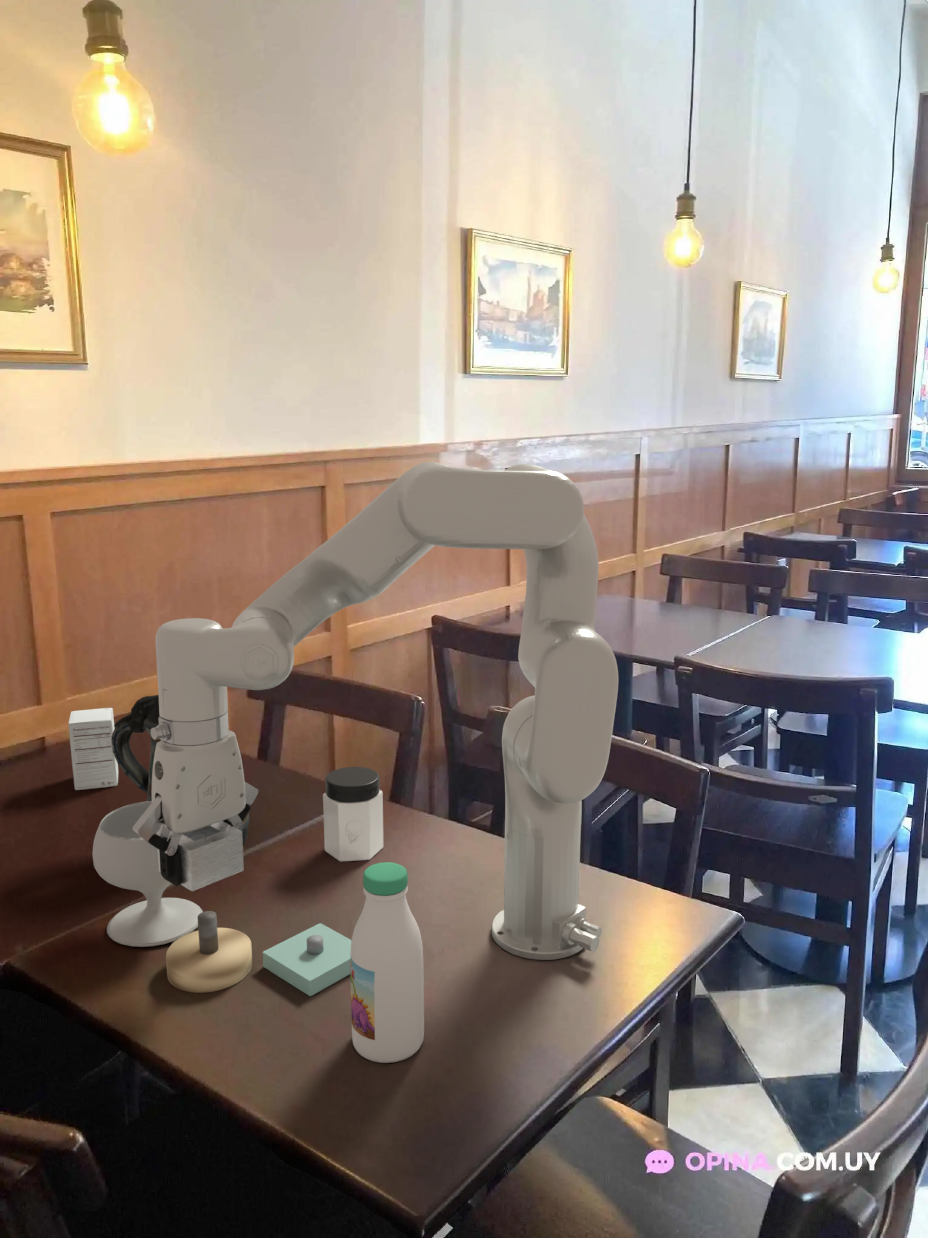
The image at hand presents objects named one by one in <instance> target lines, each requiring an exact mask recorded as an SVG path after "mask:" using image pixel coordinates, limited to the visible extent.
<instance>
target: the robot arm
mask: <svg viewBox="0 0 928 1238" xmlns="http://www.w3.org/2000/svg"><path fill="white" fill-rule="evenodd" d="M435 546H437V547H441V548H455V549H457V548H458V549H472V550H474V549H475V550H476V549H477V550H483V549H484V550H523V552H524V556H525V562H526V564H525V565H526V579H525V580H526V581H525V582H526V584H525V598H524V606H523V614H522V621H521V623H522V624H521V632H520V638H519V642H518V643H519V644H518V645H519V646H518V655H517V657H518V658H517V659H518V663H519V667H520V670H521V672H522V673H523V675H524V677H525V678H526V679H527V681H528V682H529V683H530V684H531V685H532V687H534V695H530V696H527V697H524V698H523V699H521V700H520V701H518V702H517V703H516V704H515V705H514V706H513V707H512V708H511V709H510V710H509V712H508V714H507V716H506V718H505V720H504V723H503V726H502V734H501V735H502V736H501V748H502V749H501V750H502V751H501V752H502V761H503V762H502V763H503V774H504V775H503V776H504V793H505V795H504V797H505V800H504V801H505V802H504V803H505V808H504V810H505V812H504V814H505V817H504V818H505V819H504V864H503V865H504V867H503V869H504V870H503V871H504V873H503V874H504V875H503V876H504V877H503V878H504V880H503V883H504V885H503V909H502V910H500V911H499V912H498V913H497V914H496V915H495V916H494V918H493V920H492V923H491V935H492V938H493V940H494V941H495V942H496V944H497V945H498V946H499V947H500V948H502V949H503V950H505V951H506V952H508V953H510V954H512V955H515V956H516V957H517V956H518V957H521V958H524V959H531V960H535V961H536V960H538V961H539V960H540V961H551V960H560V959H563V958H564V959H565V958H568V957H570V956H573V955H575V954H577V953H580V951H582V950H583V949H586V950H587V951H589V952H592V953H594V952H596V951H597V950H598V948H599V945H600V937H601V935H602V927H600V926H599V925H596V924H593V923H590V922H588V921H587V919H586V911H587V910H586V906H584V905H582V904H579V901H580V899H579V896H580V867H581V866H580V864H581V863H580V862H581V836H582V835H581V832H582V831H581V830H582V827H581V826H582V807H583V805H582V802H583V801H582V800H584V799H586V798H588V797H589V796H590V795H591V794H593V792H594V791H595V790H596V789H597V788H598V787H599V785H600V784H601V782H602V781H603V780H602V779H603V778H604V775H605V772H606V770H607V766H608V763H609V756H610V750H611V744H612V737H613V731H614V722H615V714H616V708H617V701H618V700H617V699H618V691H619V669H618V664H617V659H616V656H615V653H614V652H613V650H612V647H611V646H610V644H609V643H608V642H607V641H606V639H605V638H603V636H601V635H600V634H599V633H597V632H596V629H595V625H596V624H595V623H596V610H597V601H598V599H597V598H598V585H599V570H600V569H599V553H598V549H597V548H598V547H597V543H596V539H595V537H594V533H593V529H592V528H591V525H590V523H589V521H588V519H587V517H586V515H585V504H584V499H583V496H582V493H581V491H580V489H579V488H578V487H577V484H576V483H574V481H573V480H571V479H570V478H569V477H568V476H566V475H564V474H563V473H562V472H561V473H560V472H558V471H556V470H553V469H552V470H551V469H548V468H545V467H541V466H539V465H534V464H526V463H525V464H524V463H523V464H516V465H513V466H510V467H508V468H506V469H504V470H496V469H495V470H493V469H474V468H462V467H454V466H450V465H447V464H443V463H441V462H436V461H425V462H421V463H418V464H416V465H414V466H412V467H411V468H409V469H408V470H406V471H405V472H403V473H402V474H401V475H400V476H398V477H397V479H395V481H394V482H392V483H390V485H389V486H388V487H387V488H385V489H384V490H383V491H382V492H380V494H379V495H377V496H376V497H375V498H374V499H373V500H372V501H371V502H370V503H368V504H367V505H366V506H365V507H364V508H363V509H361V511H360V512H358V513H357V514H356V515H355V516H354V517H352V518H351V519H350V520H349V521H348V522H347V523H346V524H345V525H344V526H342V527H341V528H340V529H339V530H338V531H337V532H335V533H334V534H333V535H332V536H331V537H329V538H328V539H327V540H325V542H323V543H322V544H321V545H319V546H318V547H317V548H316V549H314V550H313V551H312V552H311V553H310V554H309V555H308V556H306V557H305V558H304V559H303V560H301V561H300V562H299V563H297V564H296V565H295V566H293V568H291V569H289V570H288V571H287V572H286V573H284V575H282V576H281V577H280V578H279V579H278V580H276V581H275V582H274V583H273V584H272V585H271V586H270V587H268V588H267V589H266V590H265V591H264V592H262V593H261V594H260V595H259V596H258V597H257V598H256V599H254V601H252V602H251V603H250V604H249V605H248V606H247V607H246V608H244V610H243V611H242V612H241V613H239V615H238V616H237V617H236V618H235V620H234V621H233V623H232V625H231V627H228V628H224V627H222V625H221V624H220V623H219V622H217V621H215V620H213V619H208V618H201V617H200V618H199V617H193V618H192V617H190V618H180V619H179V618H178V619H174V620H169V621H167V622H165V623H163V624H162V625H160V626H159V627H158V629H157V630H156V633H155V654H156V655H155V656H156V671H157V672H156V674H157V689H158V690H157V691H158V694H157V695H159V714H160V717H159V725H158V726H157V727H155V728H152V729H151V736H152V738H153V739H154V740H155V739H161V741H160V742H157V744H156V749H155V755H154V761H153V771H152V804H151V805H150V806H149V807H148V809H147V810H146V811H145V812H144V814H143V815H142V816H141V817H140V819H139V820H138V821H137V822H136V824H135V825H134V826H133V831H134V832H135V833H136V834H137V835H139V836H140V837H141V838H143V839H144V840H145V841H146V842H148V843H149V844H151V845H152V846H154V847H155V848H157V849H159V854H160V872H161V875H162V877H163V878H164V879H165V880H167V881H169V882H170V883H172V885H173V886H174V887H179V886H182V885H181V884H182V870H181V855H180V853H179V852H177V851H176V850H177V847H178V844H179V842H180V839H181V836H182V834H185V833H188V832H191V831H194V830H197V829H200V828H203V827H206V826H209V825H211V824H214V823H217V822H220V821H223V822H225V823H227V824H229V825H231V826H233V827H235V828H237V829H239V830H241V829H242V827H243V820H244V819H245V817H246V816H247V814H248V813H249V814H250V812H251V811H250V810H251V805H253V804H254V801H255V800H256V798H257V796H258V795H259V789H258V788H256V787H255V786H253V785H251V784H249V783H248V782H246V781H245V773H244V766H243V761H242V755H241V751H240V747H239V743H238V740H237V736H236V733H235V732H234V731H232V730H229V706H228V688H233V689H242V690H248V691H249V690H253V691H262V690H263V691H264V690H270V689H273V688H275V687H277V686H280V685H281V684H282V683H283V682H285V681H286V679H288V677H289V675H291V672H292V670H293V667H294V663H295V649H294V648H295V647H296V646H297V645H298V644H299V643H300V642H302V641H303V640H304V639H305V638H306V637H307V636H308V635H310V633H312V631H315V629H316V628H318V627H319V626H320V625H321V624H323V622H325V621H326V620H328V619H329V618H330V617H332V616H333V615H334V614H336V613H338V612H339V611H341V610H343V609H345V608H348V607H350V606H353V605H357V604H362V603H365V602H368V601H370V600H372V599H374V598H377V597H378V596H380V595H381V594H382V593H383V592H384V591H386V590H387V589H388V588H389V587H390V586H391V585H392V584H393V583H395V582H396V581H397V580H399V578H400V577H401V576H402V575H403V574H404V573H405V572H407V571H408V570H409V569H410V568H412V566H413V565H415V564H416V563H417V562H418V561H419V560H420V559H422V557H423V556H425V555H426V554H427V553H428V552H430V551H431V550H432V549H433V548H434V547H435ZM155 823H157V824H161V827H160V829H159V832H158V834H156V833H155V832H154V831H153V830H152V827H153V825H154V824H155ZM170 832H171V833H170ZM169 834H170V836H169ZM168 837H169V839H168ZM167 840H168V841H167Z"/></svg>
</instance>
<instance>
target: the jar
mask: <svg viewBox="0 0 928 1238" xmlns="http://www.w3.org/2000/svg"><path fill="white" fill-rule="evenodd" d="M379 774H380V773H378V772H377V771H376V770H375V769H372V768H368V767H364V766H346V767H340V768H337V769H334V770H331V771H330V772H329V773H327V774H326V776H325V792H324V793H323V794H322V802H323V803H322V804H323V805H322V806H323V830H324V831H323V834H324V835H323V837H324V843H323V844H324V851H325V852H326V853H327V854H329V855H330V856H331V857H333V858H334V859H335V860H337V861H338V862H352V861H353V862H357V861H370V860H372V858H373V857H374V856H376V855H377V854H378V853H379V852H380V851H381V850H382V849H383V848H384V804H383V802H384V800H383V795H384V793H383V791H382V790H381V789H380V788H381V786H380V775H379Z"/></svg>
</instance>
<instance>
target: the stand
mask: <svg viewBox="0 0 928 1238" xmlns="http://www.w3.org/2000/svg"><path fill="white" fill-rule="evenodd" d="M351 941H352V939H350V938H349V937H347V936H344V935H343V934H341V933H339V932H337V931H335V930H334V929H332V928H331V927H328V926H326V925H325V924H323V923H321V922H320V923H317V924H314V926H312V927H309V928H307V929H306V930H303V931H301V932H300V933H297V934H295V935H294V936H292V937H289V938H287V939H286V940H285V939H284V941H281V942H280V943H277V944H275V945H273V946H272V947H270V948H268V949H266V950H263V951H262V967H263V968H265V969H266V970H268V971H269V972H271V973H272V974H274V975H276V976H277V977H279V978H280V979H282V980H284V981H285V982H287V983H288V984H290V985H291V986H292V987H294V988H296V989H298V990H300V992H303V993H304V994H306V995H307V996H309V997H312V996H314V995H316V994H318V993H319V992H321V991H323V990H325V989H326V988H328V987H330V986H331V985H333V984H335V983H337V982H339V981H340V980H342V979H344V978H346V977H347V976H349V975H351V974H350V956H351Z"/></svg>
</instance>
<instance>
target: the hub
mask: <svg viewBox="0 0 928 1238" xmlns="http://www.w3.org/2000/svg"><path fill="white" fill-rule="evenodd" d="M252 950H253V949H252V941H251V939H250V938H249V936H248V935H247V934H246V933H244V932H242V931H240V930H237V929H235V928H234V929H233V928H230V927H229V928H228V927H218V919H217V913H216V912H215V911H213V910H207V911H206V910H205V911H203V912H202V913H200V914H199V915H198V927H197V930H194V931H193V932H191V933H189V934H186V935H184V936H182V937H181V938H179V939H177V940H176V941H173V942H172V943H171V945H170V946H169V947H168V949H167V950H166V952H165V953H166V954H165V960H166V961H165V962H166V974H167V975H166V976H167V980H168V982H169V983H170V985H172V986H173V987H175V989H178V990H180V991H183V992H187V993H198V994H200V993H203V994H204V993H213V992H217V991H221V990H224V989H228V988H230V987H232V986H234V985H236V984H238V983H240V982H241V981H242V980H243V979H245V978H246V977H247V975H249V973H250V972H251V971H252V967H253V953H252V952H253V951H252Z"/></svg>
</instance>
